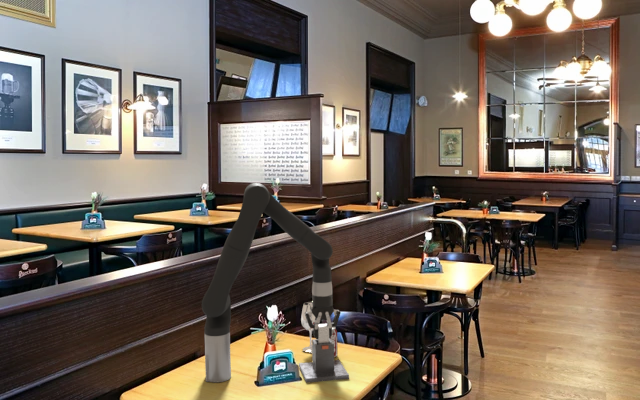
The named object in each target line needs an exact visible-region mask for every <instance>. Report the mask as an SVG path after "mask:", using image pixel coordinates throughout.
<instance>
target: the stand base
mask: <svg viewBox="0 0 640 400" xmlns="http://www.w3.org/2000/svg"><path fill="white" fill-rule="evenodd" d="M311 360H312V361H311V362H310V361H309V362H299V363H298V368H299V367H300V368H299V370H300V372H301V375H302V376H303V377H302V378H303V379H304V380H305V381H304V382H305V383H306V384H308V383H319V382H328V381H329V382H330V381H340V380H350V374H349V373H348V371H347V370H346V368H345V367H344V365H343V363H342V362H341V361H340V359H335V357H334V343H333V342H332V340H331V339H330V338H329V344H317V339H316V338H315V339H313V338H312V353H311Z"/></svg>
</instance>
